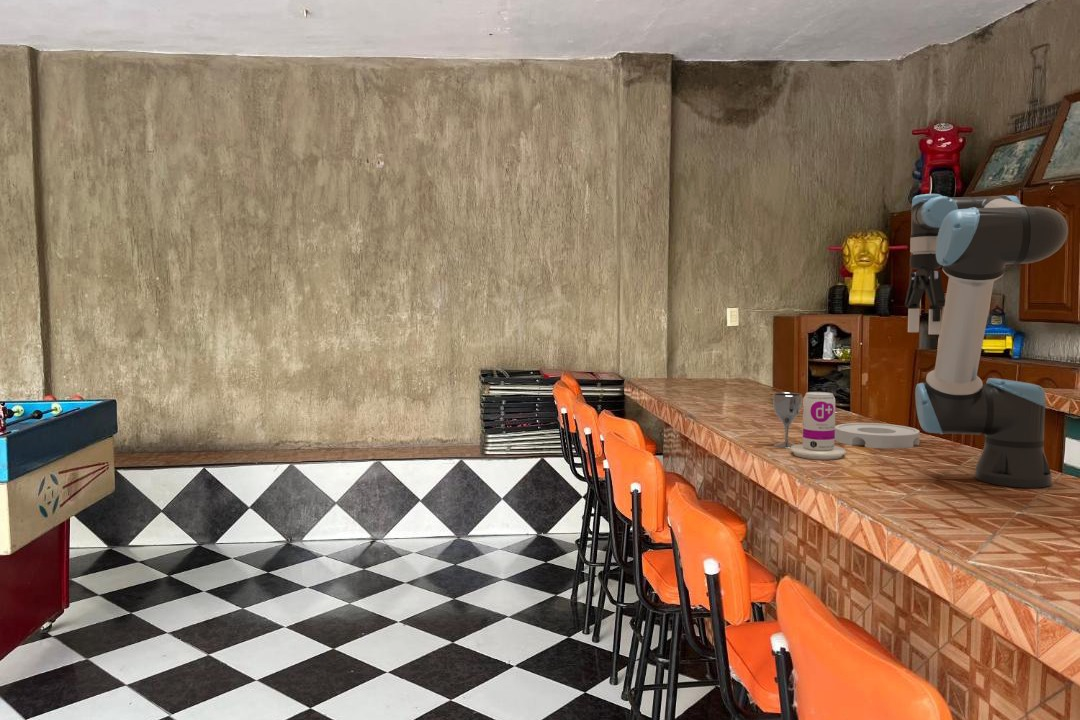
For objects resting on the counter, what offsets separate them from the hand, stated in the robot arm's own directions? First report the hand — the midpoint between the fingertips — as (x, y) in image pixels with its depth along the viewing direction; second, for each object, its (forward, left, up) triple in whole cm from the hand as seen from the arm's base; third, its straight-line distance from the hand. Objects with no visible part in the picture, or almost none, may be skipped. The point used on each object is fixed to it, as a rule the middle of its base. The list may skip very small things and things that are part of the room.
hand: (923, 333), depth 213 cm
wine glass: (+11, +33, -33) cm, 48 cm away
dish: (-3, +28, -33) cm, 43 cm away
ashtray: (+19, +5, -33) cm, 39 cm away
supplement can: (-3, +28, -31) cm, 42 cm away
